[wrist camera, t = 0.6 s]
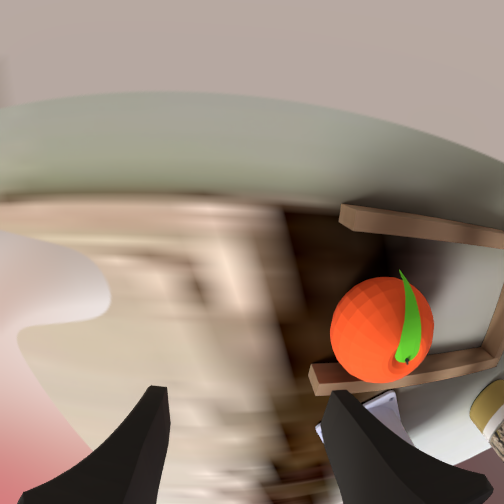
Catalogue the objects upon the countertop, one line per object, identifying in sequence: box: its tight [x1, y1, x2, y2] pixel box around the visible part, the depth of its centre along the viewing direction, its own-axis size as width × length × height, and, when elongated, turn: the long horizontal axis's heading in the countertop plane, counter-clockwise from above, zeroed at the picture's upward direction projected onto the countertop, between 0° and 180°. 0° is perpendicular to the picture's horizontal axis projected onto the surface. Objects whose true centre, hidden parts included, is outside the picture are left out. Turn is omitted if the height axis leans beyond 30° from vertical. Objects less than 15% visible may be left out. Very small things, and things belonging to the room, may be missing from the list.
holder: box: [308, 204, 504, 396], centre depth 21 cm, size 21×13×2 cm, turn 85°
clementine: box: [330, 270, 434, 383], centre depth 18 cm, size 8×7×7 cm
